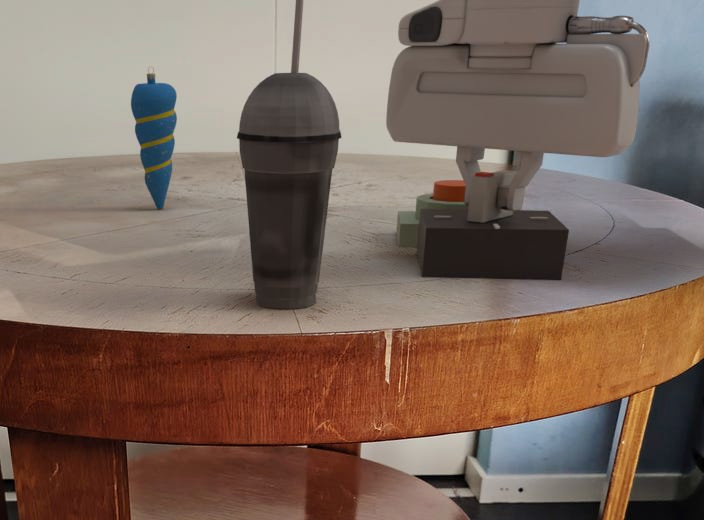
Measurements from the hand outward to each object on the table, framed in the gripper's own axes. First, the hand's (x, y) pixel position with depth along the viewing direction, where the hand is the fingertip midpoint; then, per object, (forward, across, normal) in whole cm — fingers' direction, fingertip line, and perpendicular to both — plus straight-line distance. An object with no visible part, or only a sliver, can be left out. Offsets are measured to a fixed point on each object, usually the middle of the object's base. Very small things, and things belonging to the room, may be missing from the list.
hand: (492, 207), depth 75 cm
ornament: (+5, +44, -2) cm, 44 cm away
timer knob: (+1, 0, 0) cm, 1 cm away
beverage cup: (+5, +5, +20) cm, 21 cm away
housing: (+5, +8, -8) cm, 12 cm away
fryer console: (+5, 0, 0) cm, 5 cm away
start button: (+1, +8, -8) cm, 11 cm away
